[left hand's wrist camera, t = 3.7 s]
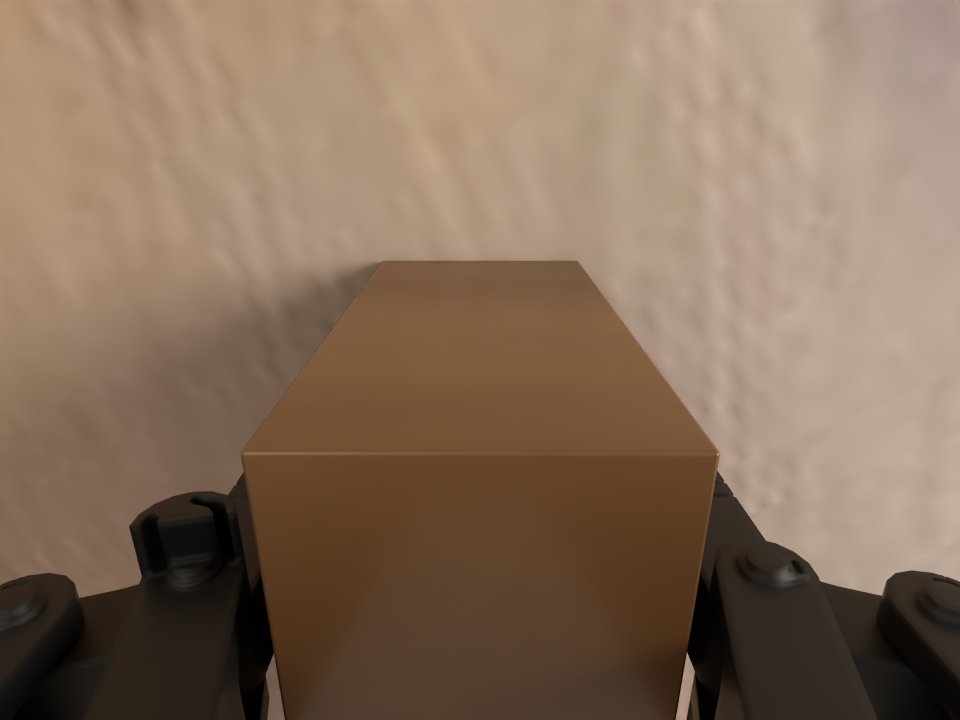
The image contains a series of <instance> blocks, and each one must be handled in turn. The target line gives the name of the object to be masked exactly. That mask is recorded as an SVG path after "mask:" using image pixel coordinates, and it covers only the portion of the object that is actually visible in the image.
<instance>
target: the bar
mask: <svg viewBox="0 0 960 720" xmlns="http://www.w3.org/2000/svg"><path fill="white" fill-rule="evenodd" d="M719 456H720V454H719V451H718V450H717V448H716V447H715V445H714V444H713V443H712V441H711V440H710V439H709V437H708V436H707V435H706V433H705V432H704V431H703V429H702V428H701V427H700V425H699V424H698V423H697V421H696V420H695V419H694V417H693V416H692V414H691V413H690V412H689V410H688V409H687V408H686V406H685V405H684V404H683V402H682V401H681V400H680V398H679V397H678V396H677V394H676V393H675V392H674V390H673V389H672V387H671V386H670V385H669V383H668V382H667V381H666V379H665V378H664V377H663V375H662V374H661V373H660V371H659V370H658V369H657V367H656V366H655V365H654V363H653V362H652V360H651V359H650V358H649V356H648V355H647V354H646V352H645V351H644V350H643V348H642V347H641V346H640V344H639V343H638V342H637V340H636V339H635V338H634V336H633V335H632V334H631V332H630V331H629V329H628V328H627V327H626V325H625V324H624V323H623V321H622V320H621V319H620V317H619V316H618V315H617V313H616V312H615V311H614V309H613V308H612V307H611V305H610V304H609V302H608V301H607V300H606V298H605V297H604V296H603V294H602V293H601V292H600V290H599V289H598V288H597V286H596V285H595V284H594V282H593V281H592V280H591V278H590V277H589V276H588V274H587V273H586V271H585V270H584V269H583V267H582V266H581V265H580V263H579V262H578V261H383V262H381V264H380V265H379V266H378V268H377V269H376V271H375V272H374V273H373V275H372V276H371V277H370V279H369V280H368V281H367V283H366V284H365V285H364V287H363V288H362V289H361V291H360V292H359V294H358V295H357V296H356V298H355V299H354V300H353V302H352V303H351V304H350V306H349V307H348V308H347V310H346V311H345V312H344V314H343V315H342V317H341V318H340V319H339V321H338V322H337V323H336V325H335V326H334V327H333V329H332V330H331V331H330V333H329V334H328V335H327V337H326V338H325V340H324V341H323V342H322V344H321V345H320V346H319V348H318V349H317V350H316V352H315V353H314V354H313V356H312V357H311V358H310V360H309V361H308V363H307V364H306V365H305V367H304V368H303V369H302V371H301V372H300V373H299V375H298V376H297V377H296V379H295V380H294V381H293V383H292V384H291V386H290V387H289V388H288V390H287V391H286V392H285V394H284V395H283V396H282V398H281V399H280V400H279V402H278V403H277V404H276V406H275V407H274V409H273V410H272V411H271V413H270V414H269V415H268V417H267V418H266V419H265V421H264V422H263V423H262V425H261V426H260V427H259V429H258V430H257V432H256V433H255V434H254V436H253V437H252V438H251V440H250V441H249V442H248V444H247V445H246V446H245V448H244V449H243V450H242V453H241V458H242V464H243V470H244V476H245V482H246V488H247V494H248V500H249V506H250V512H251V518H252V524H253V530H254V536H255V542H256V548H257V554H258V560H259V566H260V572H261V578H262V584H263V590H264V596H265V602H266V608H267V614H268V620H269V626H270V632H271V638H272V644H273V650H274V656H275V662H276V668H277V674H278V680H279V686H280V692H281V698H282V704H283V710H284V716H285V720H676V714H677V708H678V702H679V696H680V690H681V684H682V678H683V672H684V666H685V660H686V654H687V648H688V642H689V636H690V630H691V624H692V618H693V612H694V606H695V600H696V594H697V588H698V582H699V576H700V570H701V564H702V558H703V552H704V546H705V540H706V534H707V528H708V522H709V516H710V510H711V504H712V498H713V492H714V486H715V480H716V474H717V468H718V462H719Z"/></svg>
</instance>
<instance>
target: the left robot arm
mask: <svg viewBox="0 0 960 720" xmlns="http://www.w3.org/2000/svg"><path fill="white" fill-rule="evenodd" d="M129 528H130V532H131V536H132V539H133V543H134V547H135V551H136V555H137V559H138V563H139V567H140V571H141V574H142V579H141V581H140V583H139V584H138V585H135V586H131V587H128V588H124V589H120V590H115V591H111V592H106V593H102V594H97V595H92V596H88V597H83V598H79V596H78V593H77V590H76V586H75V583H74V582H72V581H71V580H70V579H69V578H68V577H67V576H64V575H58V574H52V573H46V574H37V575H29V576H26V577H22V578H18V579H16V580H12V581H9V582H6V583H4V584H2V585H0V720H267V716H268V706H269V693H268V686H267V680H266V672H267V669H268V667H269V664H270V662H271V659H272V656H273V654H274V650H273V644H272V638H271V632H270V626H269V620H268V614H267V608H266V602H265V596H264V590H263V584H262V578H261V572H260V566H259V560H258V554H257V548H256V542H255V536H254V530H253V524H252V518H251V512H250V506H249V500H248V494H247V488H246V482H245V476H244V473H243V474H242V476H241V477H240V478H239V480H238V481H237V486H234V487H233V489H232V490H231V492H230V493H229V494H228V496H227V495H224V494H220V493H216V492H212V491H209V492H191V493H186V494H182V495H177V496H173V497H171V498H168V499H166V500H163V501H161V502H158V503H156V504H154V505H152V506H151V507H149V508H148V509H146V510H145V511H143V512H142V513H140V514H139V515H138V516H137V518H136V519H135V520H134V521H133V522H132V524H131V525H130V526H129ZM687 652H688V655H689V658H690V660H691V663H692V665H693V668H694V670H695V674H694V680H693V686H692V691H691V697H690V703H689V708H688V714H687V720H960V582H959V581H957V580H954V579H951V578H948V577H944V576H942V575H937V574H934V573H928V572H920V571H906V572H900V573H895V574H894V575H893V576H892V577H891V578H889V579H888V580H887V582H886V585H885V588H884V591H883V595H882V596H880V595H875V594H870V593H866V592H861V591H857V590H852V589H847V588H843V587H838V586H835V585H831V584H827V583H824V582H820V580H819V577H818V576H817V574H816V573H815V571H814V570H813V568H812V567H811V566H810V564H809V563H808V562H806V561H805V560H804V559H803V558H801V557H800V556H799V555H797V554H796V553H795V552H793V551H791V550H789V549H787V548H784V547H782V546H780V545H778V544H776V543H772V542H768V541H766V540H765V539H764V537H763V536H762V535H761V533H760V532H759V530H758V529H757V527H756V526H755V524H754V523H753V522H752V520H751V519H750V517H749V516H748V514H747V513H746V511H745V510H744V509H743V507H742V506H741V504H740V503H739V501H738V500H737V498H736V497H733V493H732V491H731V490H730V488H729V487H728V485H727V484H724V480H723V478H722V477H721V475H720V474H719V473H718V471H717V474H716V480H715V486H714V492H713V498H712V504H711V510H710V516H709V522H708V528H707V534H706V540H705V546H704V552H703V558H702V564H701V570H700V576H699V582H698V588H697V594H696V600H695V606H694V612H693V618H692V624H691V630H690V636H689V642H688V648H687Z"/></svg>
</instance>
